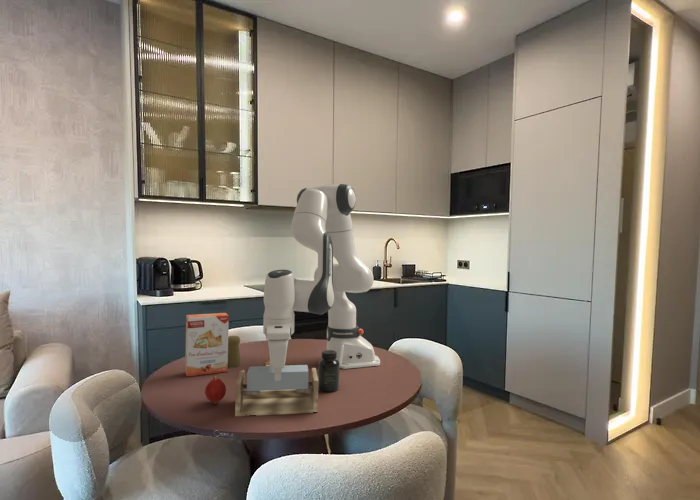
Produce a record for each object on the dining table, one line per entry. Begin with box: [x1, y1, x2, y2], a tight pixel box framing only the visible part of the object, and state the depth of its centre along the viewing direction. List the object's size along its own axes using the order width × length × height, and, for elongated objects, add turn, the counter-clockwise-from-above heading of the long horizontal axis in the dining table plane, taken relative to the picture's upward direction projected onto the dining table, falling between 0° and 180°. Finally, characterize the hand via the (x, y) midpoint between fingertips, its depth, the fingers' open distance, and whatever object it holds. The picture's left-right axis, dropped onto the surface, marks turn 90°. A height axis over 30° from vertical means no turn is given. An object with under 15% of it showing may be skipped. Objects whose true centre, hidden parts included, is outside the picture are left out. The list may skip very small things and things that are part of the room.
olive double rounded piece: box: [228, 335, 242, 368], centre depth 150 cm, size 6×6×11 cm
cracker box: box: [184, 312, 230, 377], centre depth 141 cm, size 14×6×21 cm, turn 118°
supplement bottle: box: [317, 350, 341, 393], centre depth 128 cm, size 7×7×12 cm
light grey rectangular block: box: [246, 364, 310, 391], centre depth 113 cm, size 17×6×5 cm, turn 99°
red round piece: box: [204, 376, 227, 405], centre depth 114 cm, size 6×6×8 cm
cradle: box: [234, 367, 319, 417], centre depth 113 cm, size 22×11×9 cm, turn 99°
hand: (278, 374), depth 113 cm, fingers open, 8 cm apart
